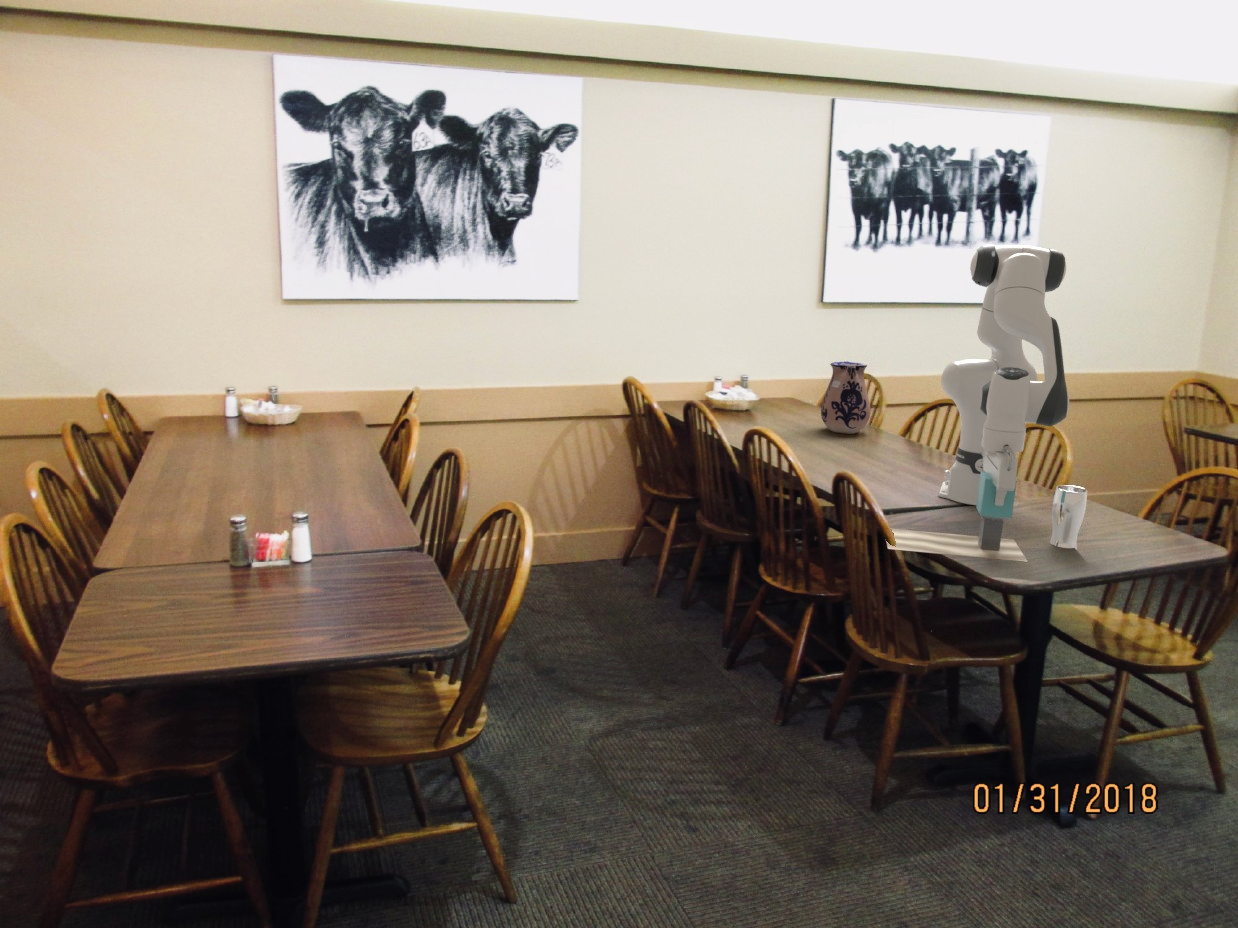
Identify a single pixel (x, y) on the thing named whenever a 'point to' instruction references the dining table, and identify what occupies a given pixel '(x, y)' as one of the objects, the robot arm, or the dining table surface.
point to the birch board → (953, 545)
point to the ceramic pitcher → (846, 399)
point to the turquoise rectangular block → (987, 499)
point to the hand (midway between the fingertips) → (995, 500)
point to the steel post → (990, 533)
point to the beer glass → (1067, 515)
